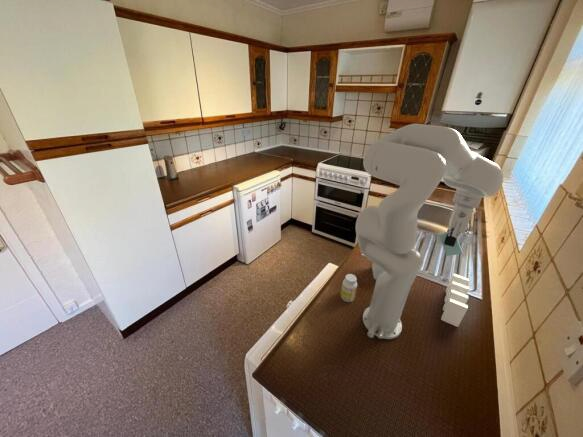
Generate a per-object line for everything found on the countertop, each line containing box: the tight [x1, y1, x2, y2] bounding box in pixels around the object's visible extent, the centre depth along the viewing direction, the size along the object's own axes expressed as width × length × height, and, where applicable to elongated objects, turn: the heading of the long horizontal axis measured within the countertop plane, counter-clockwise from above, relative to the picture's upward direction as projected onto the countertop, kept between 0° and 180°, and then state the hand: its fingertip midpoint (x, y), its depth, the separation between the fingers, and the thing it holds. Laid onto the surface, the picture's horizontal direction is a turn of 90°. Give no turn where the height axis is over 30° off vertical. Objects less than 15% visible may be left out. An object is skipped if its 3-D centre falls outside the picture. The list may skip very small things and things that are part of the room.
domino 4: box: [442, 289, 469, 312], centre depth 83 cm, size 2×5×9 cm, turn 55°
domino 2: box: [445, 273, 470, 294], centre depth 90 cm, size 2×5×9 cm, turn 55°
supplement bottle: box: [340, 273, 358, 303], centre depth 88 cm, size 5×5×10 cm
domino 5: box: [440, 298, 469, 328], centre depth 79 cm, size 2×5×9 cm, turn 55°
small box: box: [371, 262, 386, 280], centre depth 100 cm, size 8×6×10 cm
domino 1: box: [438, 230, 464, 257], centre depth 89 cm, size 2×5×9 cm
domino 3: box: [443, 281, 470, 303], centre depth 86 cm, size 2×5×9 cm, turn 55°
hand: (448, 243), depth 89 cm, fingers closed on domino 1, 1 cm apart
